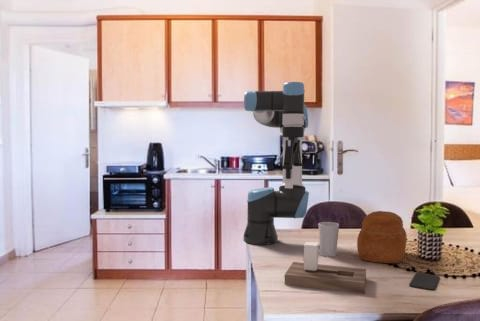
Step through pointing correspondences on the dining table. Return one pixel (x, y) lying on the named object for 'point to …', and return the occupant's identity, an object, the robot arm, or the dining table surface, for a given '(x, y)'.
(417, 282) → the phone
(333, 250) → the cup
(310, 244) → the keyhole peg
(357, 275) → the keyhole board
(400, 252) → the bread
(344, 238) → the dining table surface
